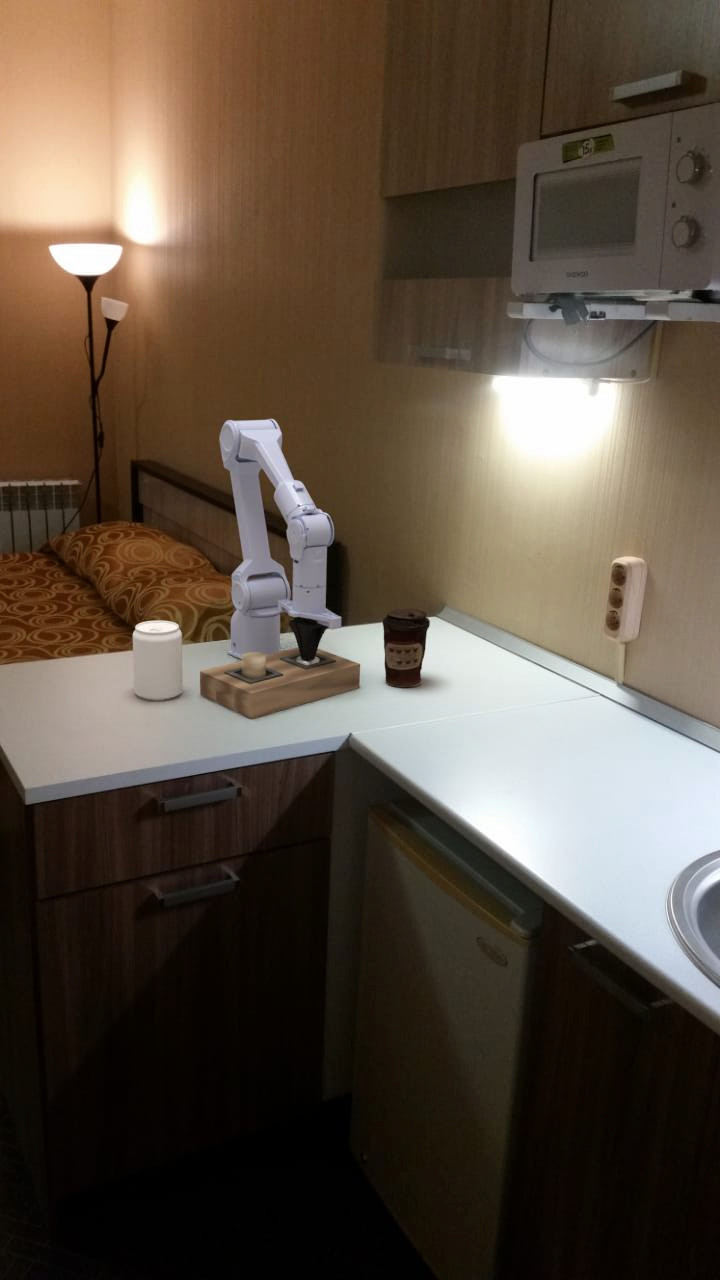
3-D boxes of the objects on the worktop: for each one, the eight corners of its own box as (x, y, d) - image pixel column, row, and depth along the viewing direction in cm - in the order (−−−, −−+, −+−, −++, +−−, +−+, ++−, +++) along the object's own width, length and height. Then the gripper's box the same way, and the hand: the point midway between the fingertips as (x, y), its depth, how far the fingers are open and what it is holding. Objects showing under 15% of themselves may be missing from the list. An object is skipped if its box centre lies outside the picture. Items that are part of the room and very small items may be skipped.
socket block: (200, 695, 185) (199, 669, 183) (307, 667, 201) (307, 643, 199) (251, 719, 175) (251, 691, 174) (359, 687, 191) (360, 662, 190)
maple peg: (237, 680, 183) (237, 655, 182) (255, 675, 186) (255, 650, 184) (251, 686, 180) (251, 661, 179) (270, 681, 183) (270, 656, 182)
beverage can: (188, 687, 188) (187, 621, 185) (175, 703, 181) (174, 634, 177) (142, 684, 189) (140, 618, 185) (128, 700, 181) (126, 631, 178)
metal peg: (291, 682, 192) (291, 658, 190) (308, 678, 194) (309, 654, 193) (306, 688, 189) (306, 664, 188) (323, 683, 192) (324, 659, 190)
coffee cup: (427, 692, 190) (431, 620, 186) (380, 690, 190) (382, 618, 186) (425, 675, 198) (429, 607, 195) (380, 674, 198) (383, 605, 195)
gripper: (264, 579, 189) (264, 653, 193) (319, 596, 179) (318, 674, 183) (295, 573, 193) (294, 646, 197) (351, 589, 183) (348, 666, 187)
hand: (308, 659), depth 190 cm, fingers closed, pressing on metal peg
